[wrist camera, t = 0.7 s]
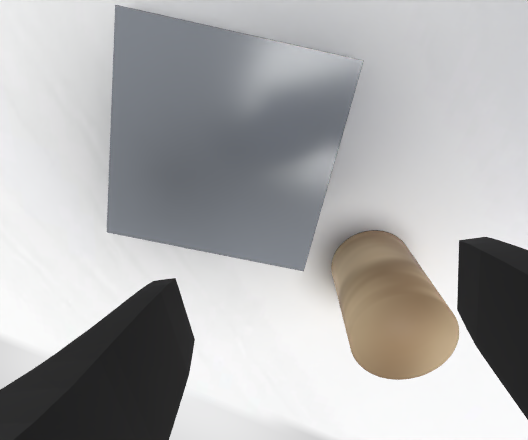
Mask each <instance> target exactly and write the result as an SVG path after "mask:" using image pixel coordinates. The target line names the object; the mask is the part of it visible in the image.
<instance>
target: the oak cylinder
mask: <svg viewBox="0 0 528 440" xmlns="http://www.w3.org/2000/svg"><path fill="white" fill-rule="evenodd" d="M331 270H332V276H333V280H334V284H335V288H336V292H337V296H338V300H339V304H340V308H341V312H342V316H343V320H344V324H345V328H346V332H347V336H348V340H349V344H350V348H351V352H352V354H353V356H354V358H355V360H356V361H357V362H358V364H359V365H360V366H361V367H362V368H364V369H365V370H366V371H368V372H370V373H372V374H374V375H376V376H379V377H382V378H387V379H398V380H400V379H410V378H415V377H419V376H422V375H425V374H427V373H429V372H431V371H433V370H435V369H436V368H438V367H439V366H441V365H442V364H443V363H444V362H445V361H446V360H447V359H448V358H449V357H450V356H451V355H452V353H453V351H454V350H455V348H456V345H457V343H458V339H459V326H458V322H457V320H456V317H455V316H454V314H453V313H452V311H451V310H450V308H449V307H448V305H447V304H446V303H445V301H444V300H443V298H442V297H441V295H440V294H439V293H438V291H437V290H436V288H435V287H434V285H433V284H432V282H431V281H430V280H429V278H428V277H427V275H426V274H425V272H424V271H423V270H422V268H421V267H420V265H419V264H418V262H417V261H416V259H415V258H414V257H413V255H412V254H411V252H410V251H409V249H408V248H407V247H406V245H405V244H404V243H403V241H402V240H400V239H399V238H398V237H396V236H395V235H393V234H390V233H388V232H384V231H365V232H361V233H358V234H356V235H354V236H352V237H350V238H348V239H347V240H346V241H344V242H343V243H342V244H341V245H340V246H339V248H338V249H337V251H336V252H335V254H334V257H333V260H332V265H331Z"/></svg>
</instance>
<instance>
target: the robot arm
mask: <svg viewBox="0 0 528 440" xmlns="http://www.w3.org/2000/svg"><path fill="white" fill-rule="evenodd" d="M457 310H458V312H459V314H460V316H461V318H462V320H463V322H464V324H465V326H466V328H467V330H468V332H469V334H470V336H471V337H472V339H473V341H474V343H475V345H476V346H477V348H478V349H479V351H480V352H481V354H482V355H483V357H484V358H485V360H486V361H487V362H488V364H489V365H490V367H491V368H492V370H493V371H494V373H495V374H496V375H497V377H498V378H499V380H500V381H501V383H502V384H503V385H504V387H505V388H506V390H507V391H508V392H509V394H510V395H511V397H512V398H513V399H514V401H515V402H516V404H517V405H518V407H519V408H520V409H521V411H522V412H523V414H524V415H525V416H526V418H527V419H528V250H526V249H523V248H520V247H517V246H514V245H511V244H508V243H505V242H502V241H499V240H496V239H492V238H488V237H481V238H474V239H466V240H459V268H458V304H457ZM194 340H195V339H194V336H193V333H192V330H191V326H190V323H189V320H188V317H187V314H186V310H185V307H184V304H183V301H182V298H181V294H180V291H179V288H178V285H177V282H176V278H173V279H165V280H158V281H153V282H151V283H150V284H148V285H146V286H145V287H144V288H142V289H141V290H139V291H138V292H137V293H135V294H134V295H133V296H131V297H130V298H129V299H128V300H126V301H125V302H124V303H122V304H121V305H120V306H119V307H117V308H116V309H115V310H113V311H112V312H111V313H110V314H108V315H107V316H106V317H104V318H103V319H102V320H101V321H99V322H98V323H97V324H96V325H94V326H93V327H92V328H90V329H89V330H88V331H86V332H85V333H83V334H82V335H81V336H79V337H78V338H77V339H75V340H74V341H72V342H71V343H70V344H68V345H67V346H66V347H64V348H63V349H62V350H60V351H59V352H57V353H56V354H55V355H53V356H52V357H50V358H49V359H47V360H46V361H45V362H43V363H42V364H40V365H39V366H37V367H36V368H34V369H33V370H31V371H29V372H28V373H26V374H25V375H23V376H22V377H20V378H18V379H17V380H15V381H14V382H12V383H10V384H9V385H7V386H6V387H4V388H3V389H1V390H0V440H169V437H170V434H171V431H172V428H173V425H174V421H175V418H176V415H177V412H178V409H179V406H180V402H181V399H182V396H183V392H184V389H185V386H186V382H187V379H188V376H189V371H190V365H191V360H192V353H193V347H194Z"/></svg>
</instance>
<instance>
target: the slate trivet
mask: <svg viewBox="0 0 528 440" xmlns="http://www.w3.org/2000/svg"><path fill="white" fill-rule="evenodd" d="M363 61H364V60H359V59H355V58H350V57H346V56H341V55H337V54H333V53H328V52H324V51H319V50H315V49H310V48H306V47H301V46H297V45H292V44H288V43H283V42H279V41H275V40H270V39H266V38H261V37H257V36H252V35H248V34H243V33H239V32H234V31H230V30H226V29H221V28H217V27H212V26H208V25H203V24H199V23H194V22H190V21H185V20H181V19H176V18H172V17H168V16H163V15H159V14H154V13H150V12H145V11H141V10H136V9H132V8H127V7H123V6H119V5H115V29H114V55H113V81H112V108H111V134H110V160H109V187H108V213H107V232H108V233H113V234H118V235H123V236H128V237H133V238H138V239H144V240H149V241H154V242H159V243H164V244H169V245H174V246H179V247H184V248H189V249H194V250H199V251H204V252H209V253H214V254H219V255H224V256H229V257H234V258H239V259H245V260H250V261H255V262H260V263H265V264H270V265H275V266H280V267H285V268H290V269H295V270H300V271H304V268H305V264H306V261H307V257H308V254H309V250H310V247H311V243H312V240H313V236H314V233H315V229H316V226H317V222H318V219H319V215H320V212H321V208H322V205H323V201H324V198H325V194H326V191H327V187H328V184H329V180H330V177H331V173H332V170H333V166H334V163H335V159H336V156H337V152H338V149H339V145H340V142H341V138H342V135H343V131H344V128H345V124H346V121H347V117H348V114H349V110H350V107H351V103H352V100H353V96H354V93H355V89H356V86H357V82H358V79H359V75H360V72H361V68H362V65H363Z"/></svg>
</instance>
